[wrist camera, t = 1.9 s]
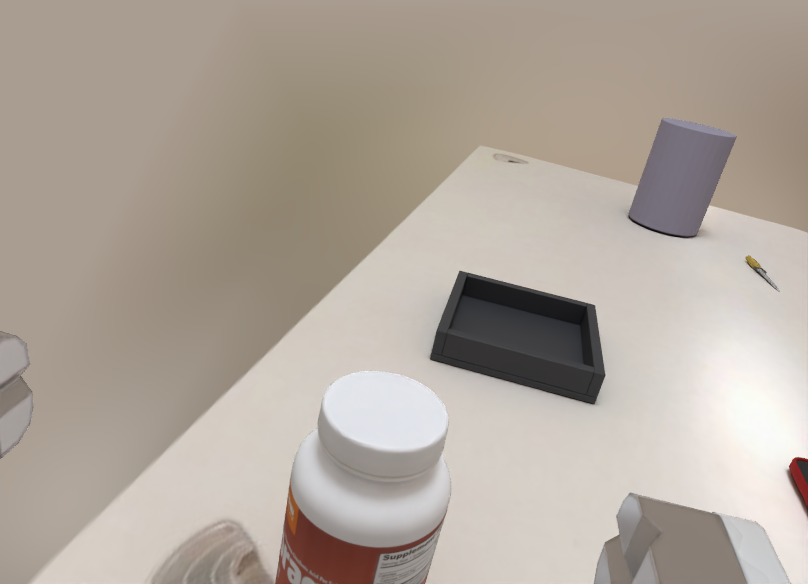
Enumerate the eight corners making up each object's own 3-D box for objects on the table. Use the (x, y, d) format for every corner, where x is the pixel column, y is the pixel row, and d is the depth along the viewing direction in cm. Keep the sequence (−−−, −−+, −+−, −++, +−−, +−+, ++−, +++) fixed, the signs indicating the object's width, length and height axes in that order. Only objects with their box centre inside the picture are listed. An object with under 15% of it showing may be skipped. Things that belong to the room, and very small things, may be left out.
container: (694, 225, 99) (732, 131, 93) (698, 244, 90) (741, 141, 84) (629, 208, 102) (661, 115, 95) (626, 224, 93) (662, 122, 86)
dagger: (790, 293, 77) (776, 287, 77) (785, 299, 77) (771, 293, 77) (756, 257, 86) (743, 252, 86) (752, 262, 87) (739, 257, 87)
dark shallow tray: (429, 359, 48) (436, 330, 47) (453, 295, 59) (459, 270, 58) (594, 404, 46) (605, 375, 45) (586, 329, 57) (595, 304, 56)
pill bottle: (247, 585, 28) (269, 376, 23) (364, 535, 31) (403, 347, 26) (315, 712, 23) (359, 488, 19) (441, 638, 27) (504, 435, 22)
